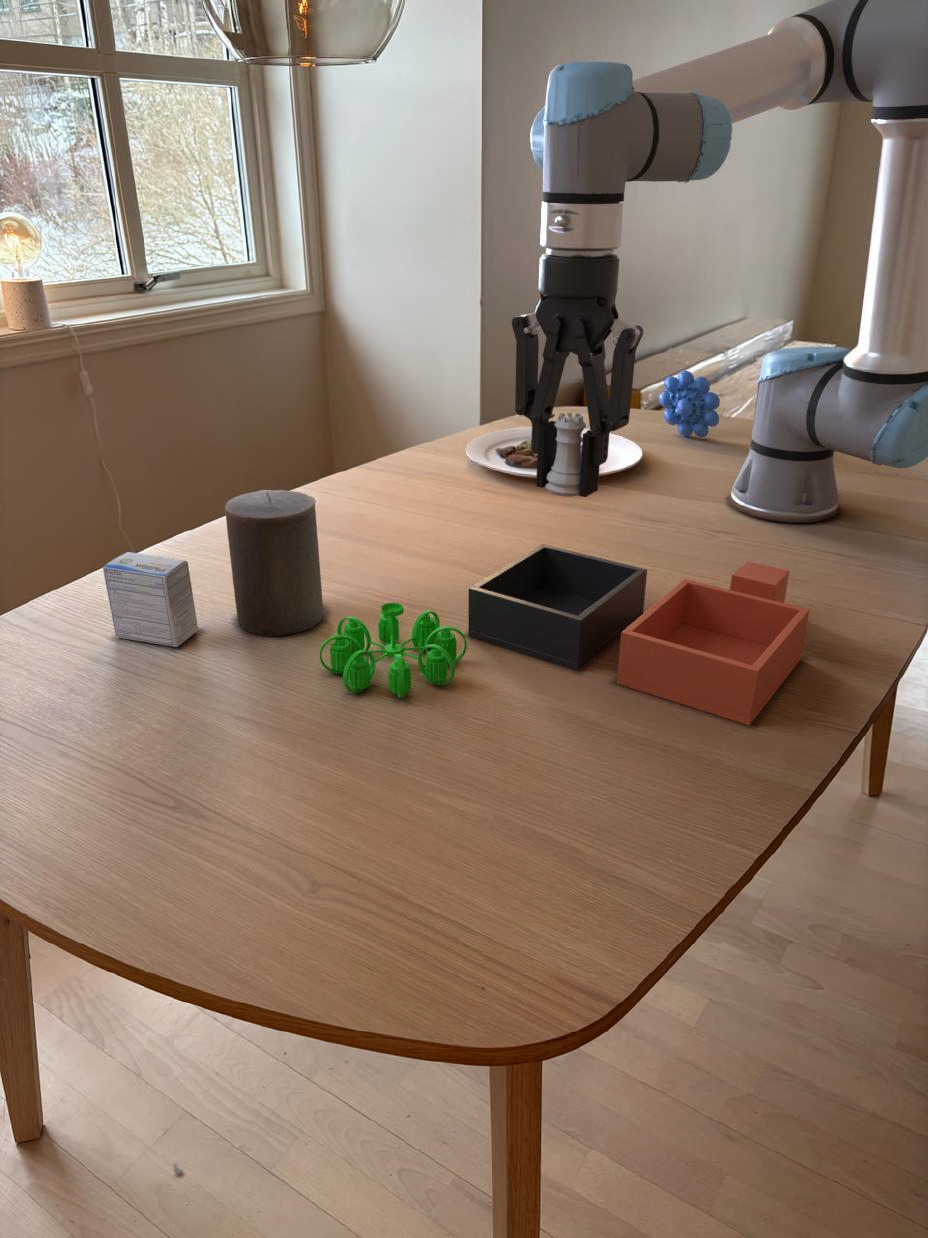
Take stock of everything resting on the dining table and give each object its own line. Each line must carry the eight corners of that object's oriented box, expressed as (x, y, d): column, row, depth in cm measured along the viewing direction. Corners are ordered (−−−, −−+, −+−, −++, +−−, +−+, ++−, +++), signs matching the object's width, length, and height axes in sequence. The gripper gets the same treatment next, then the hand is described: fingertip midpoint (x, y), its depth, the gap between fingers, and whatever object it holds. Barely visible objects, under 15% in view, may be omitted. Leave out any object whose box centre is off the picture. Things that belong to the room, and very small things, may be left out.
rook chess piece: (585, 499, 98) (591, 422, 94) (542, 495, 98) (546, 419, 95) (589, 485, 102) (594, 411, 98) (547, 482, 102) (551, 408, 99)
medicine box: (199, 631, 105) (189, 559, 101) (176, 649, 101) (164, 575, 97) (139, 621, 107) (127, 550, 103) (114, 638, 104) (100, 565, 100)
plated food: (548, 427, 182) (549, 409, 181) (677, 461, 162) (679, 441, 161) (430, 457, 164) (429, 438, 163) (558, 500, 144) (559, 479, 143)
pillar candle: (251, 644, 102) (236, 512, 96) (227, 609, 110) (212, 485, 104) (336, 625, 106) (328, 497, 100) (307, 593, 114) (298, 472, 108)
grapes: (647, 437, 176) (653, 371, 171) (660, 429, 181) (666, 365, 176) (709, 446, 171) (717, 379, 165) (720, 437, 176) (728, 372, 171)
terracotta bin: (679, 625, 107) (684, 578, 104) (800, 659, 100) (809, 609, 97) (616, 683, 95) (621, 632, 92) (749, 725, 88) (758, 671, 86)
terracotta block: (741, 599, 113) (746, 560, 111) (783, 610, 110) (789, 570, 108) (726, 614, 109) (731, 574, 107) (769, 626, 107) (775, 585, 104)
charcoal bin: (540, 587, 116) (542, 543, 113) (643, 616, 109) (647, 569, 106) (468, 636, 104) (468, 588, 102) (577, 671, 97) (581, 620, 95)
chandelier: (454, 629, 105) (454, 572, 102) (479, 699, 92) (480, 635, 89) (318, 640, 103) (313, 582, 100) (324, 713, 90) (319, 648, 87)
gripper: (480, 249, 91) (477, 482, 102) (648, 260, 82) (626, 515, 93) (521, 243, 97) (515, 465, 107) (682, 254, 88) (658, 494, 98)
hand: (566, 488), depth 100 cm, fingers closed on rook chess piece, 4 cm apart
